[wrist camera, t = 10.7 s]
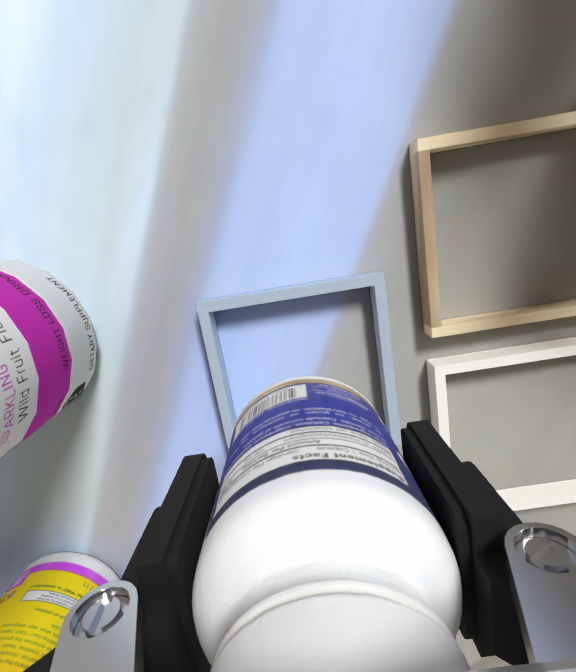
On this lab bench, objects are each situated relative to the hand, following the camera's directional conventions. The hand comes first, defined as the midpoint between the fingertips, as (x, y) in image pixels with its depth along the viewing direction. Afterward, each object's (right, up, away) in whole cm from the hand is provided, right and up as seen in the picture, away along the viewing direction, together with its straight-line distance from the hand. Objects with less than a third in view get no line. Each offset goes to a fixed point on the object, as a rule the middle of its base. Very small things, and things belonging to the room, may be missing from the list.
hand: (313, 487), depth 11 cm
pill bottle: (0, +1, +3) cm, 3 cm away
